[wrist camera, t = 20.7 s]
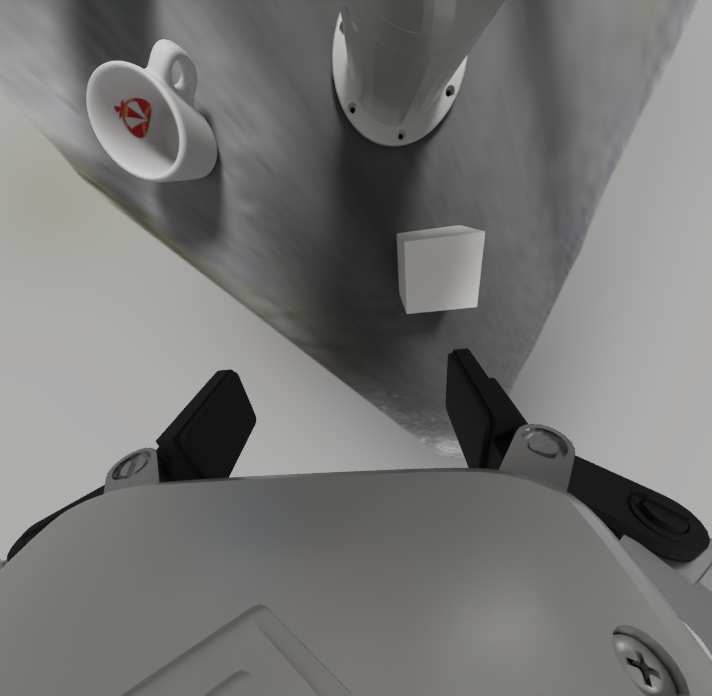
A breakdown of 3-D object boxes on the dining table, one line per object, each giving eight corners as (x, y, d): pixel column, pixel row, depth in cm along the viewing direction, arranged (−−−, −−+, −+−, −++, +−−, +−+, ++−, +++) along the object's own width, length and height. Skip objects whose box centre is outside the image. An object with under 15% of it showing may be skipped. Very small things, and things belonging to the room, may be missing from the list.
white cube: (396, 233, 32) (404, 241, 26) (459, 225, 32) (485, 231, 25) (399, 293, 36) (406, 314, 29) (455, 286, 35) (476, 307, 29)
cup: (168, 40, 25) (91, -22, 18) (246, 99, 27) (204, 63, 20) (147, 158, 30) (80, 144, 23) (215, 201, 31) (172, 201, 24)
